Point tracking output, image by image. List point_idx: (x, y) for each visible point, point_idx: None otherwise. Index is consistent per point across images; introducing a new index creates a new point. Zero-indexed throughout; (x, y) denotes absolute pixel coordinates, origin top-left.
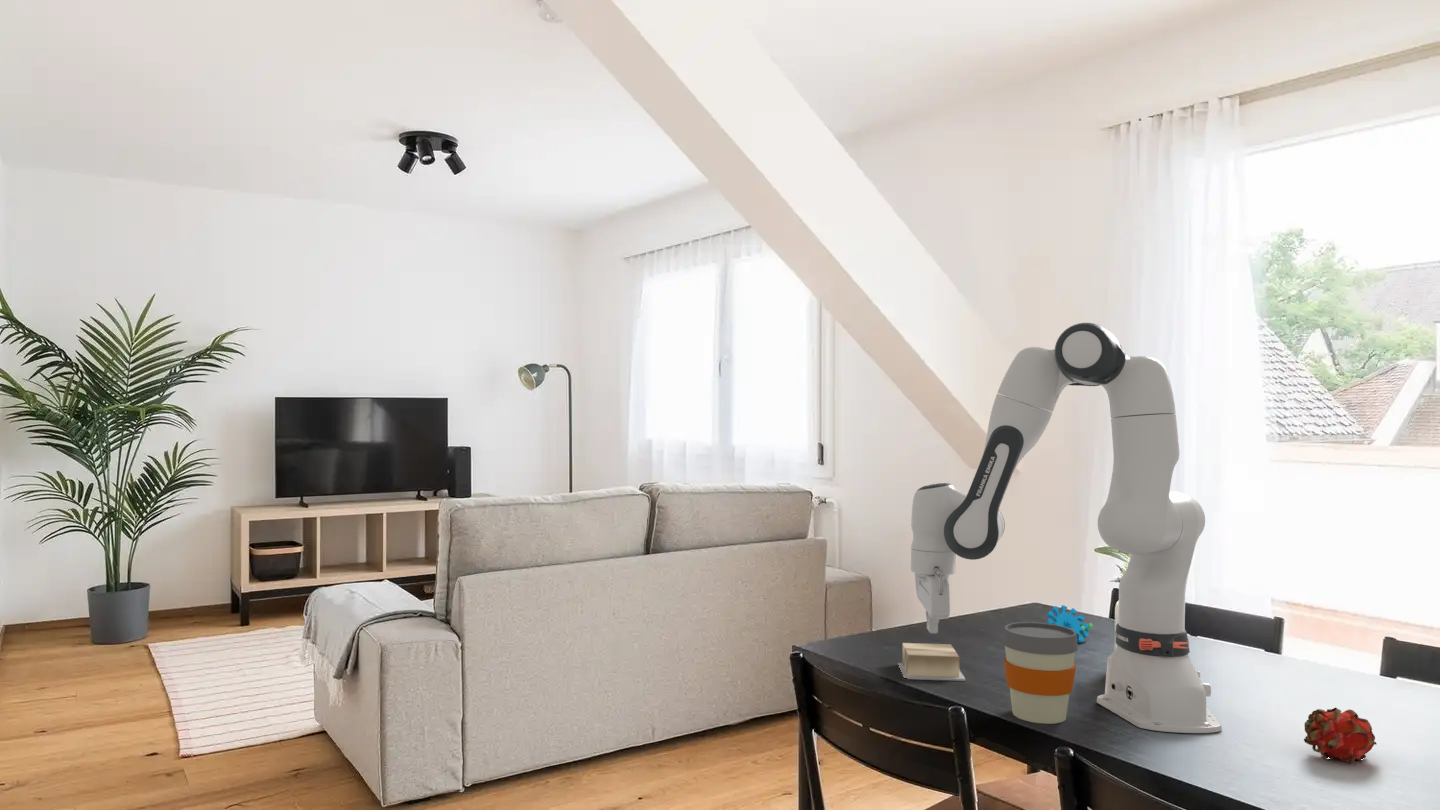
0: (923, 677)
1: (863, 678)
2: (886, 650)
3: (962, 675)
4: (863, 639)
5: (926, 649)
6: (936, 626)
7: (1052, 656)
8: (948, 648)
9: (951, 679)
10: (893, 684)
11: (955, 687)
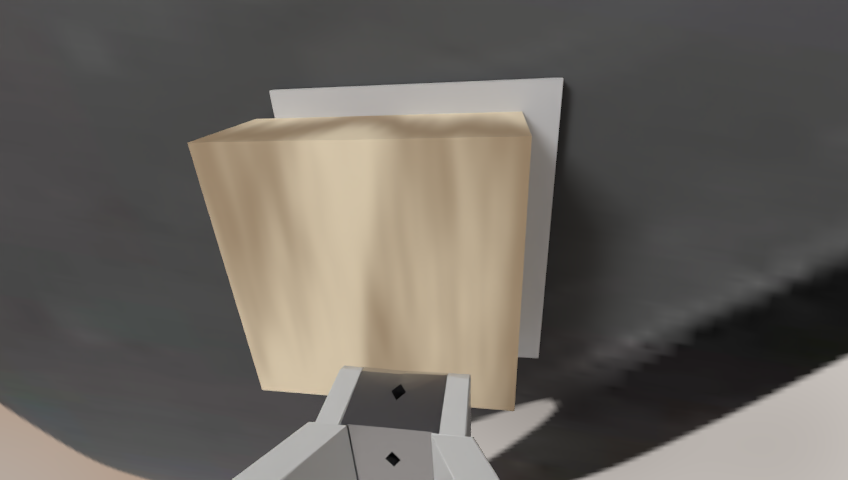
0: (542, 287)
1: (535, 465)
2: (130, 342)
3: (489, 86)
4: (25, 385)
5: (367, 308)
6: (468, 430)
7: None
8: (306, 176)
9: (554, 157)
10: (617, 397)
11: (688, 155)
